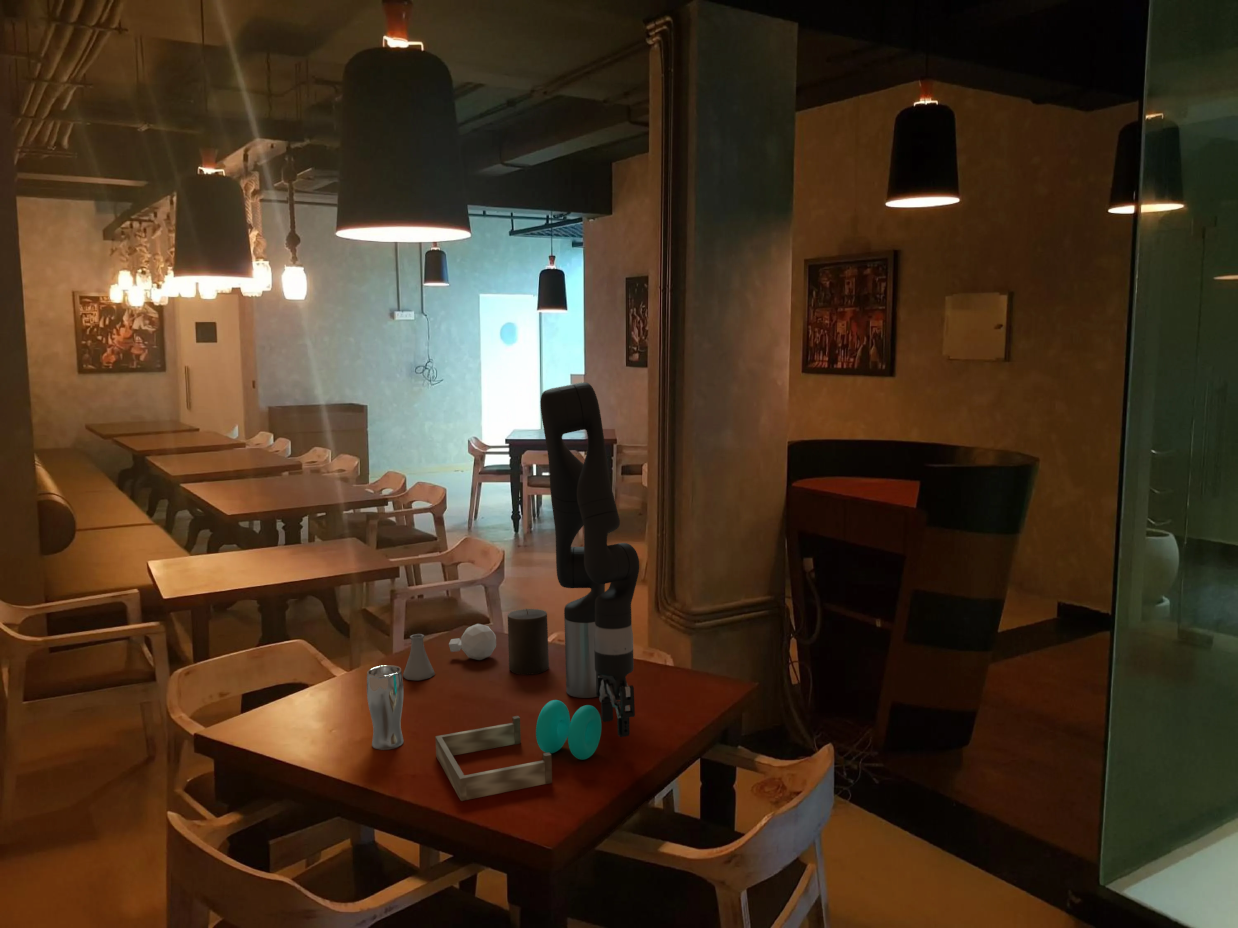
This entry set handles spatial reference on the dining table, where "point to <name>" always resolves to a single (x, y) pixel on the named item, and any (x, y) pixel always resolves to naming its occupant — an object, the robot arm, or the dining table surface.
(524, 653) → the pillar candle
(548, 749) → the teal diabolo
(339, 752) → the dining table surface
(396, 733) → the beer glass
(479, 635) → the perfume bottle
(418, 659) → the flask
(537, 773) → the box
